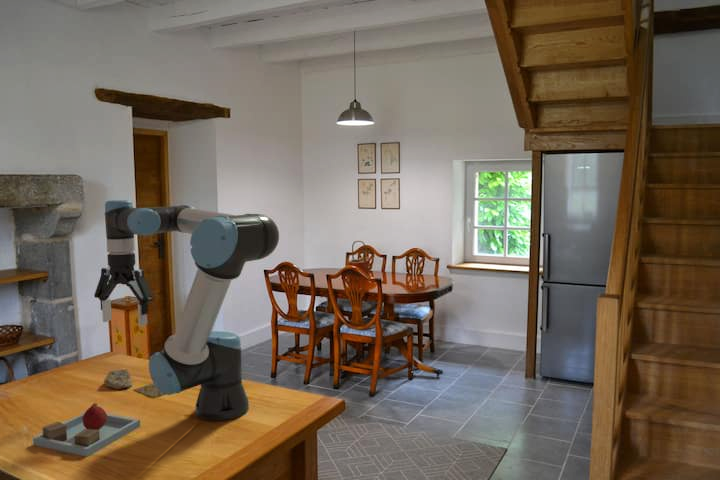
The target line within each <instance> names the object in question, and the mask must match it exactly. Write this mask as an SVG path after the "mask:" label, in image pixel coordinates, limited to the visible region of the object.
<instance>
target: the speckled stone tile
mask: <svg viewBox="0 0 720 480" xmlns="http://www.w3.org/2000/svg"><path fill="white" fill-rule="evenodd" d="M132 391H134V392H137V393H138V394H142V395H143V396H146V397H148V398H151V399H153V400H154V399H157V398H160V397H162V396H166V395H165V394H162V393H161V392H160V391H159V390H158V389H157V388H156V387H155V385H154V383H153V382H152V383H150V384H147V385H143V386H140V387H138V388H133V389H132Z"/></svg>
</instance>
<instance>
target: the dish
mask: <svg viewBox="0 0 720 480" xmlns="http://www.w3.org/2000/svg"><path fill="white" fill-rule="evenodd" d="M84 413H85V412H83V413H81V414H78V415H77V416H75V417H73V418H70V419H69V420H66V421H64V422H61V423H62V424H64V425H66V432H67V440H66V441H63V442H62V441H58V440H53V439H48V438H44V437H43V432H42V433H40V434H39V433H38V434H37V435H35V436H33V437H32V441H33V442H32V444H33V446H37V447H42V448H46V449H51V450H55V451H58V452H63V453H69V454H73V455H76V456H80V457H85V458H89V457H90V456H91V455H93V454H95V453H97V452H99V451H100V450H102V449H104V448H106V447H107V446H109V445H111V444H112V443H114V442H115V441H116V442H117V441H118V440H119V439H122V438H123V437H124V436H126V435H129V434H130V433H132V432H133V431H135V430H137V429H139V428H140V427H141V420H140V419H137V418H132V417H128V416H121V415H115V414H111V413H106V414H107V420H106V423H105V424H104V426H103V427H102V428H101V429H99V437H100V440H99V441H97V442H95V443H93V444H91V445H89V446H88V447H85V446H80V445H76V444H75V439H74V436H75V435H76V434H78V433H79V432H81V431H82V430H84V429H86V428H85V427H84V425H83V415H84Z"/></svg>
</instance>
